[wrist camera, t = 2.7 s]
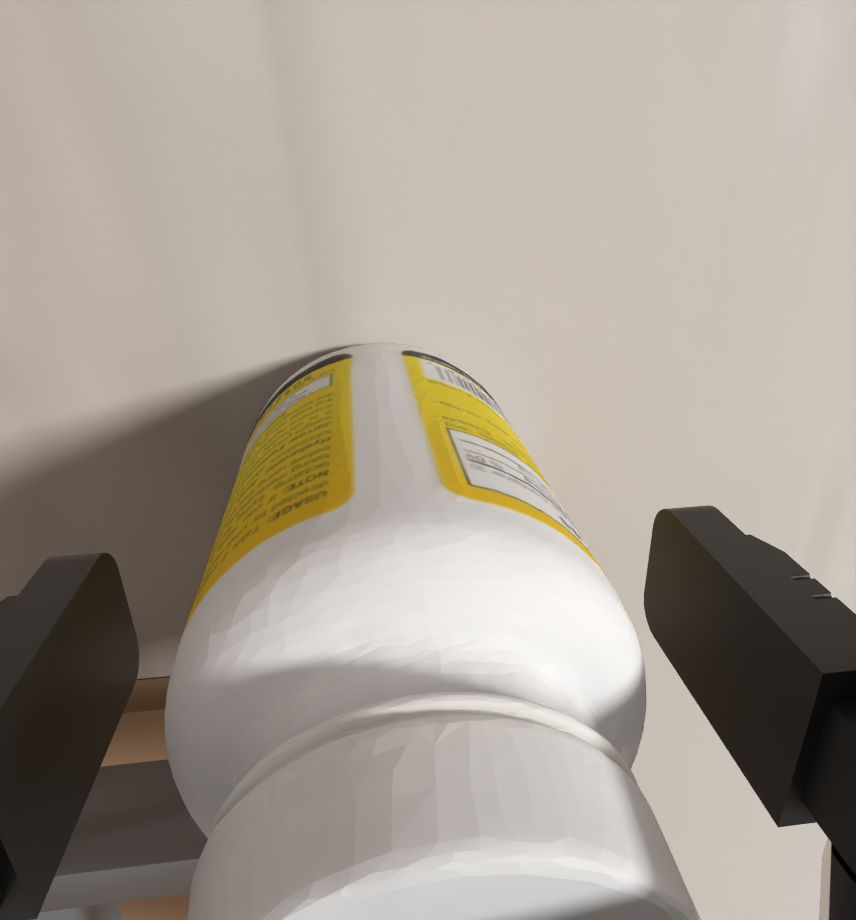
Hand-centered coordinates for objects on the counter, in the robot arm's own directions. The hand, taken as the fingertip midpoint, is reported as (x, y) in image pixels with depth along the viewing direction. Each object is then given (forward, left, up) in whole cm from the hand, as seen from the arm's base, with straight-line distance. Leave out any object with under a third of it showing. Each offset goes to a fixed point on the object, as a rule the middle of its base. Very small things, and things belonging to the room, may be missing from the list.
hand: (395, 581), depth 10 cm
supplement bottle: (0, 0, -4) cm, 4 cm away
